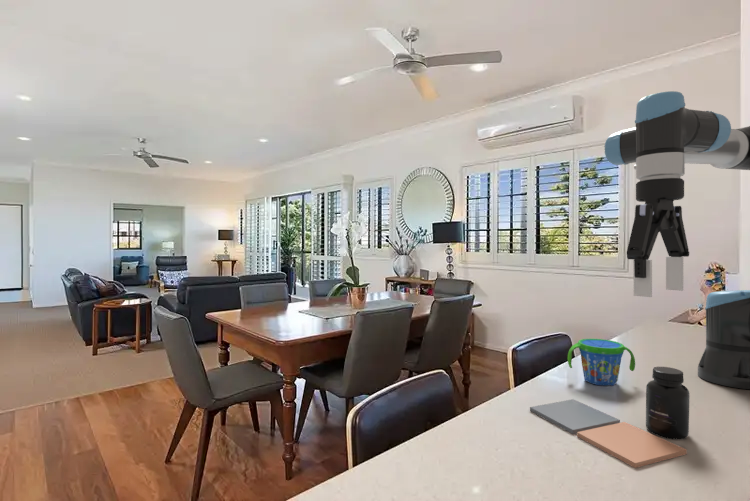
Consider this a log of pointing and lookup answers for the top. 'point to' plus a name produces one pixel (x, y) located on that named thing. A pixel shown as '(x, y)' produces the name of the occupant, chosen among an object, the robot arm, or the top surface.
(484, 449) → the top surface
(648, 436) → the terracotta pad
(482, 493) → the top surface
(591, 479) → the top surface
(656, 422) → the supplement bottle
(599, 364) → the snack cup
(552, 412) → the slate pad
